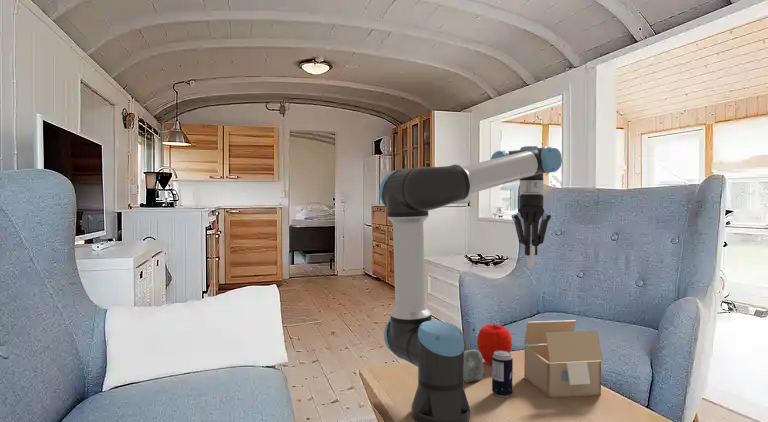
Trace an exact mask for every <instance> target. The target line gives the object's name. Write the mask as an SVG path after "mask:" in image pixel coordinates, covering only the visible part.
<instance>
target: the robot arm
mask: <svg viewBox="0 0 768 422" xmlns="http://www.w3.org/2000/svg"><path fill="white" fill-rule="evenodd" d="M562 163H563V158H562V153H561V151H560V150H559V148H557V147H555V146H544V147H542V146H539V145H525V146H521V147H520V149H518V150H517V149H515V150H497V151H495V152H494V153H493V154H492V155H491V157H490V159H488V160H484V161H480V162H477V163H476V162H475V163H472V164H467V165H464V166H462V165H460V164H457V163H456V164H452V165H447V166H420V167H412V168H411V167H410V168H409V167H408V168H399V169H396V170H393V171H390V172H388V173H387V174H386V175H385V176H384V177H383V179H382V181H381V183H380V186H379V192H378V194H379V199H380V202H381V203H382V204H383V205H384V207H385V208H386V217H387V220H389V221H390V222H391V224H392V237H393V238H392V241H393V243H392V244H393V268H394V269H393V271H394V272H393V273H394V297H395V298H394V299H395V302H394V303H395V304H394V305H395V307H394V308H393V309H392V310H391V312H390V315H389V316H390V318H389V319H388V323H386V325H385V326H384V331H383V339H384V343H385V345H386V347H387V348H388V350H389V351H390V352H391V353H393V355H395V356H397V358H398V359H402V360H404V361H406V362H408V363H410V364H412V365H414V366H416V367H417V373H418V374H417V378H418V379H417V380H418V381H417V383H418V384H417V388H416V390H415V394H414V397H413V400H412V403H411V418H412V419H413V420H414V421H415V422H469V421H470V419H471V407H470V404H469V401H468V398H467V397H468V396H467V394H466V391H465V389H464V381H463V369H464V351H465V342H464V334H463V332H462V330H461V329H460V327H458V326H457V325H456V324H453V323H450V322H448V321H442V320H432V311H431V310H430V309H428V308H427V305H426V304H427V302H426V300H427V299H426V278H425V277H426V273H425V271H426V269H425V247H424V246H425V241H424V240H425V239H424V237H425V235H424V233H425V232H424V223H425V221H426V220H427V218H429V211H431V210H437V209H439V208H442V207H445V206H449V205H452V204H454V203H457V202H460V201H461V202H462V201H463V200H466V199H467V198H468V197H469V196H470V194H474V193H478V192H481V191H484V190H485V191H486V190H488V189H491V188H495V187H498V186H501V185H504V184H508V183H512V182H515V181H518V180H519V193H520V195H519V208H518V211H517V212H516V213H515V214H511V219H512V221H513V222H514V226H515V231H516V236H517V239H518V243H519V244H522V245H523V246H524V256H526V265H527V266H530V267H535V266H536V263H535V262H536V260H535V259H536V256H538V247H539V246H540V245H542V244H544V241H545V236H546V232H547V228H548V223H549V221H550V220H551V218H552V216H551V214H547V213H546V212H545V209H544V195H543V193H544V183H545V182H544V174H551V173H555V172H558V171H559V169H560V168H561V167H562ZM521 219H522V221H523V225H522V221H521ZM540 220H541V222H540ZM523 226H524V227H523Z"/></svg>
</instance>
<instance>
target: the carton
mask: <svg viewBox="0 0 768 422" xmlns="http://www.w3.org/2000/svg"><path fill="white" fill-rule="evenodd" d="M574 362H587V366H588V372H589V378H590V384H577V385H569V379H568V372H567V366H566V363H574ZM523 366H524V375H523V377H524V378H525V379H526V380H527V381H528V382H529V383H530V384H531V385H533V386H534V387H535V388H536V389H537V390H538V391H539V392H541V393H542V394H543V395H544V396H545V397H547V398H548V399H553V398H569V397H570V398H571V397H586V396H588V397H589V396H601V395H602V392H601V391H602V390H601V389H602V360H593V361H572V362H549V355H548V348H547V346H538V345H529V346H528V345H525V346H524V365H523Z"/></svg>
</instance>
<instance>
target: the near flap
mask: <svg viewBox="0 0 768 422" xmlns="http://www.w3.org/2000/svg"><path fill="white" fill-rule="evenodd" d="M545 335H546V342H547V348H548V355H549V362H572V361H593V360H600V361H603V354H602V348H601V343H600V337H599V332H598V330H580V331H579V330H577V331H576V330H574V331H572V332H546V333H545ZM566 366H567V372H568V379H569V385H577V384H590V378H589V372H588V366H587V362H574V363H566Z"/></svg>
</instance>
